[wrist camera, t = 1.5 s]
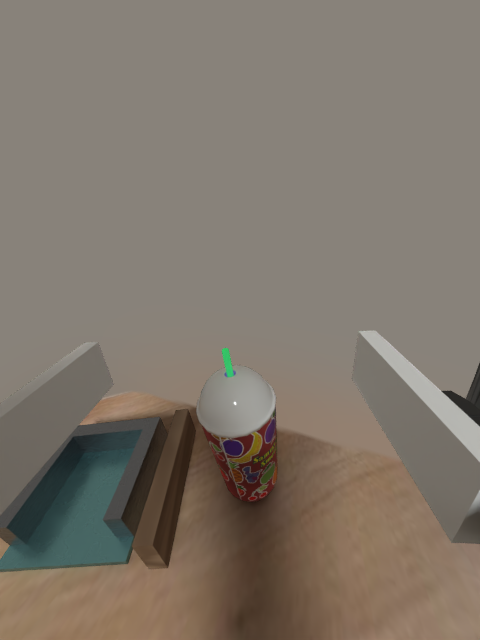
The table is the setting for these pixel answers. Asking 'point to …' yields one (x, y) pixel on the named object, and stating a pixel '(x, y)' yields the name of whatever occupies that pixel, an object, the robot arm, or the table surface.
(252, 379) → the smoothie
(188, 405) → the table surface
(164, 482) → the walnut rail
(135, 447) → the keyed cradle
